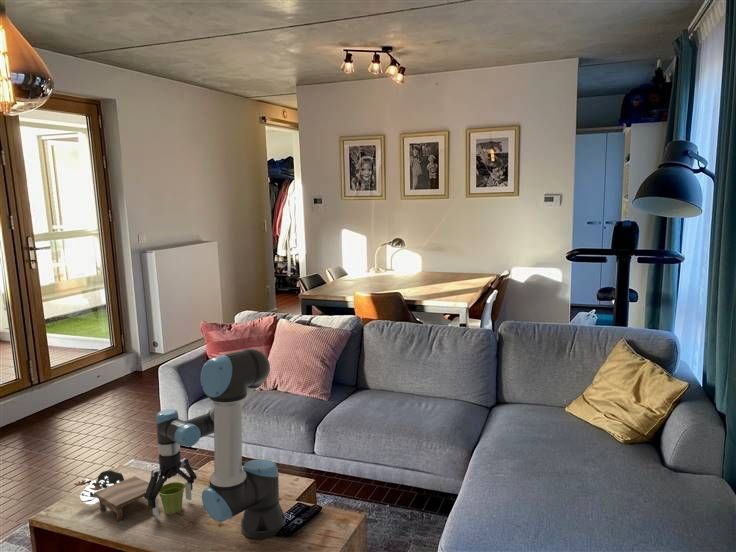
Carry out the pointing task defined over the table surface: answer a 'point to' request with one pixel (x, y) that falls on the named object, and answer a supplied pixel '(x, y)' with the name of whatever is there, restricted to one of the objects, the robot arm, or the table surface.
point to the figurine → (98, 485)
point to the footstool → (122, 494)
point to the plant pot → (172, 497)
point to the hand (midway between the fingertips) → (172, 507)
